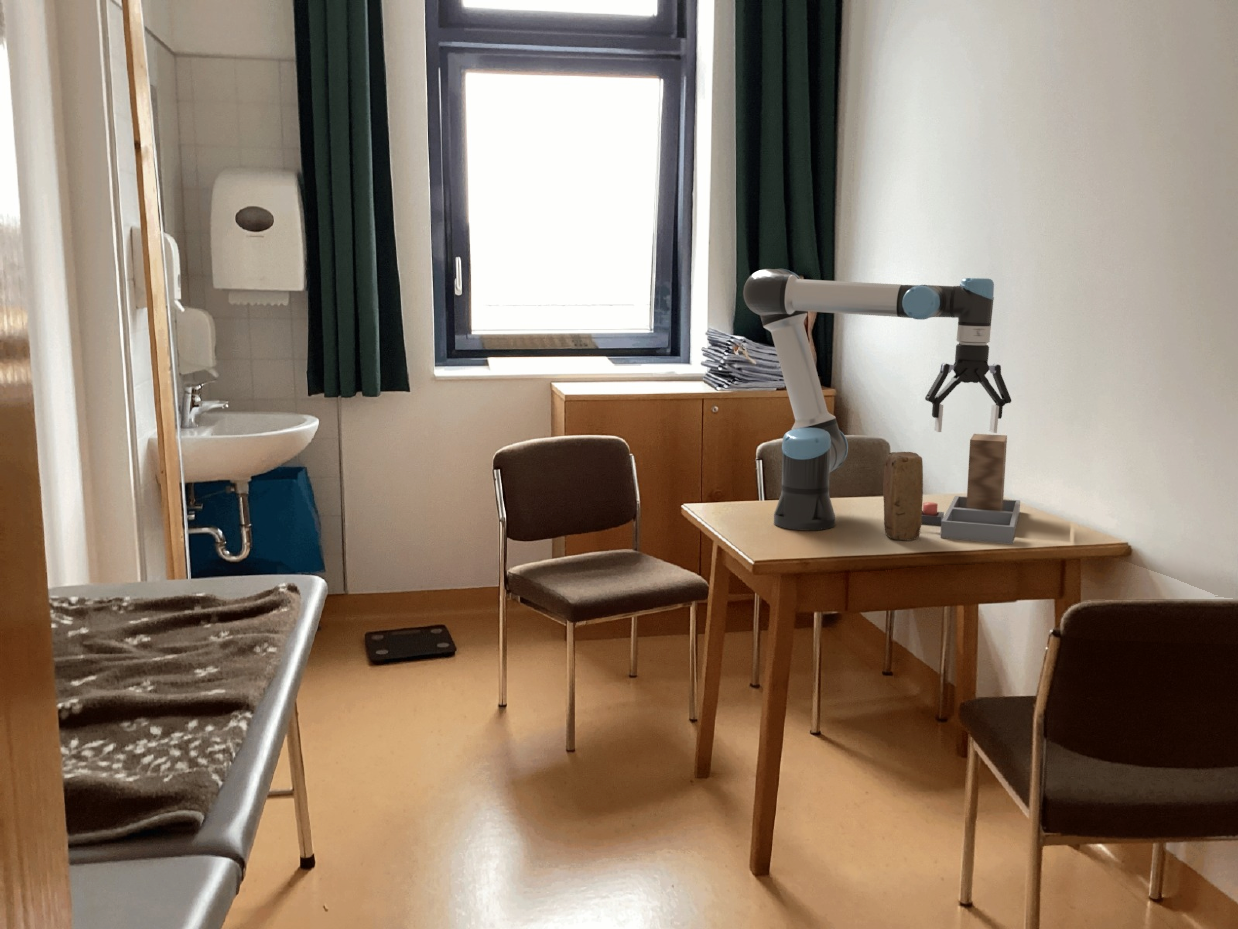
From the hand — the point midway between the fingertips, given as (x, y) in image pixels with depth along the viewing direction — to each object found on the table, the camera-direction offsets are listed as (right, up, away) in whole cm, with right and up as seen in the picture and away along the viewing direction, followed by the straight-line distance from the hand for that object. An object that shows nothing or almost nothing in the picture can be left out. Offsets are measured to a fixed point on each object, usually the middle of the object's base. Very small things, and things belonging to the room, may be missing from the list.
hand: (965, 431), depth 254 cm
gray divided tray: (+5, -23, +5) cm, 24 cm away
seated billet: (+9, -21, +12) cm, 25 cm away
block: (-17, -25, -5) cm, 31 cm away
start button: (-7, -21, +5) cm, 23 cm away
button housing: (-7, -23, +6) cm, 25 cm away
